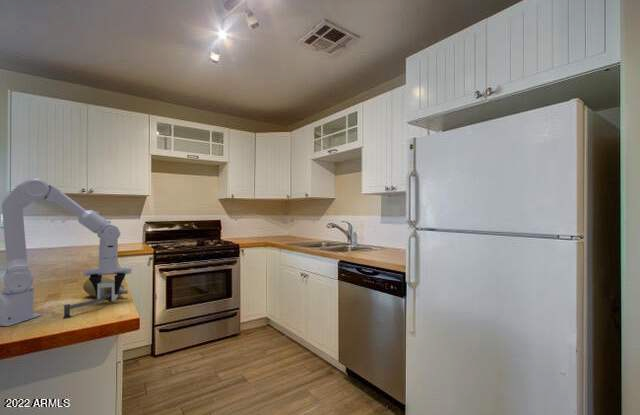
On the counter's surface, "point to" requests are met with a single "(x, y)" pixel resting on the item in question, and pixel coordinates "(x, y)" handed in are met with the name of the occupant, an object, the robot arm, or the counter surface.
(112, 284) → the grey u-shaped block
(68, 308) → the grey lever handle
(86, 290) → the squeeze bottle
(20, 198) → the robot arm
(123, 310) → the counter surface
